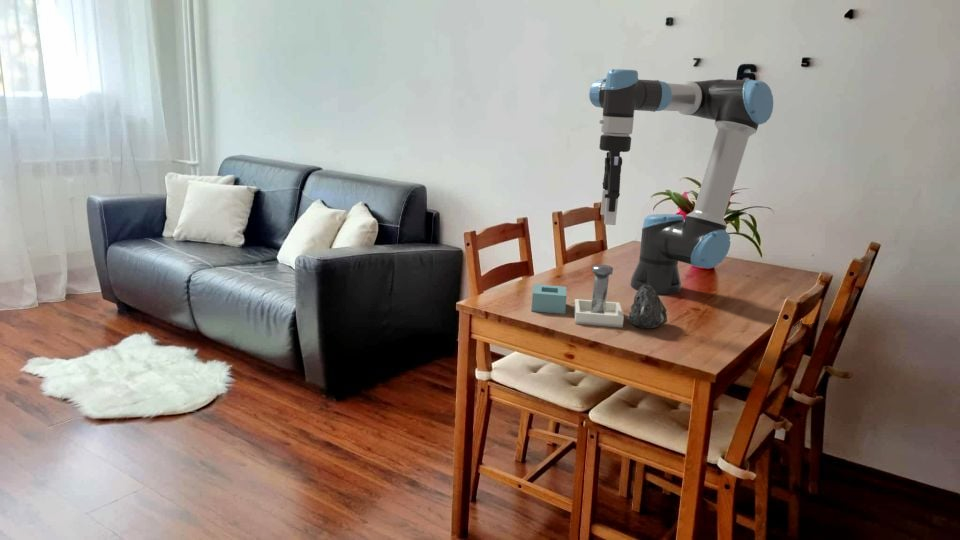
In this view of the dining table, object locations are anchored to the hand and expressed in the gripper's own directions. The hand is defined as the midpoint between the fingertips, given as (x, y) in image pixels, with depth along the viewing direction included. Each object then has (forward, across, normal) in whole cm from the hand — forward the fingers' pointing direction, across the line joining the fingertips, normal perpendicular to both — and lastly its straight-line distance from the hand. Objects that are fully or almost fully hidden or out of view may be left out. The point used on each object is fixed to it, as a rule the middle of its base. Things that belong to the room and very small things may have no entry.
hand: (607, 219), depth 171 cm
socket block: (+26, -6, -13) cm, 30 cm away
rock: (+27, +3, +13) cm, 30 cm away
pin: (+26, 0, 0) cm, 26 cm away
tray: (+26, 0, 0) cm, 27 cm away
